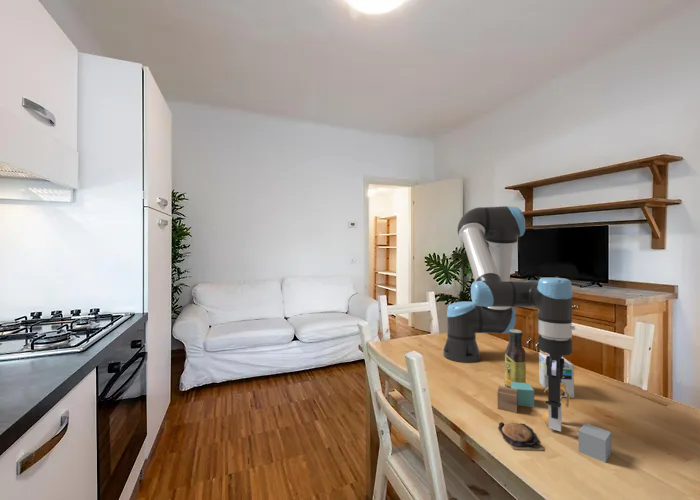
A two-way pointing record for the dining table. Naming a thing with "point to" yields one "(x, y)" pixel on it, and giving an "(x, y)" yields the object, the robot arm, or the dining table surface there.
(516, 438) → the bread roll
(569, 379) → the light bulb box
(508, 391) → the walnut cube
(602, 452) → the slate grey cube
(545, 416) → the figurine
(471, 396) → the dining table surface
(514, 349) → the sauce bottle
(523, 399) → the teal painted cube
